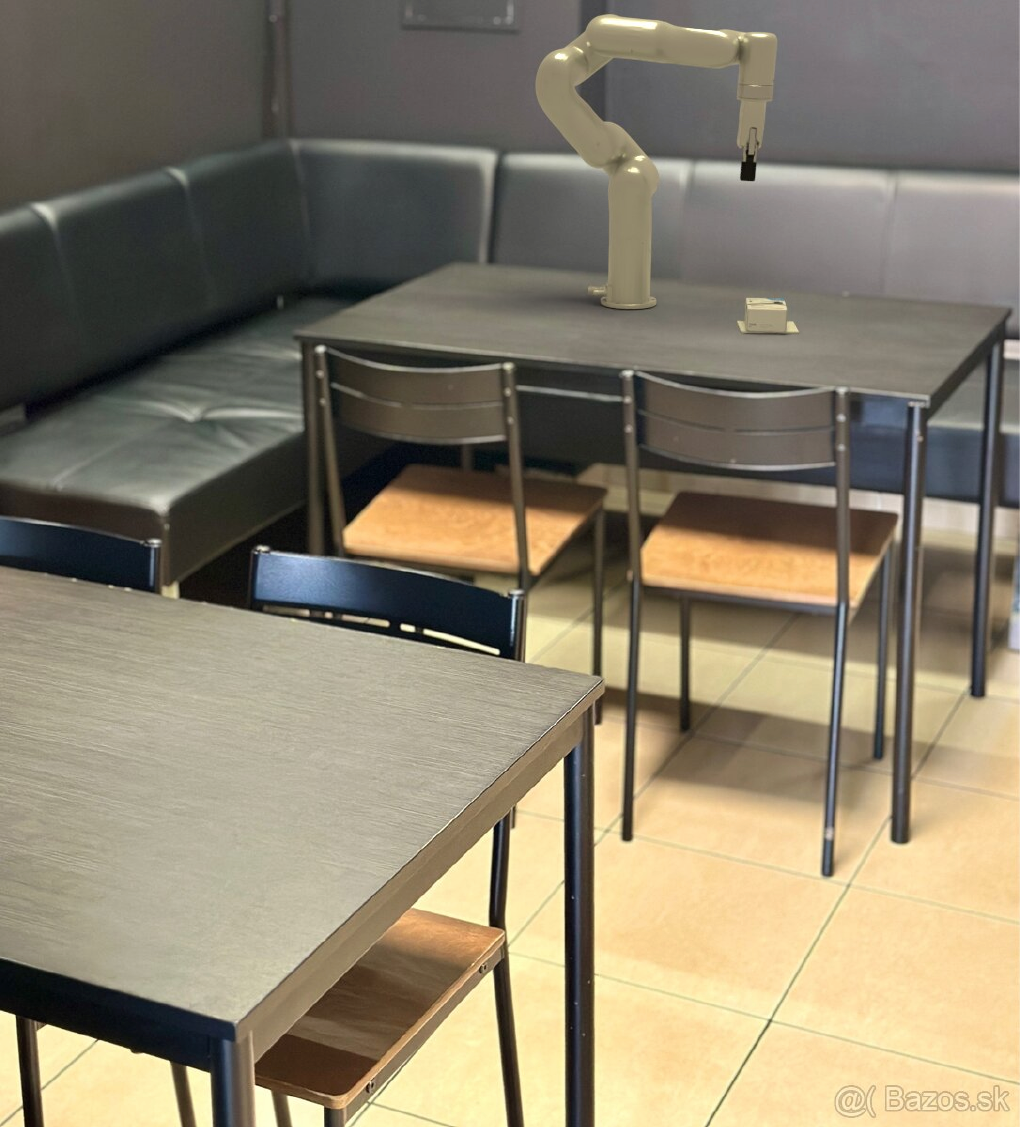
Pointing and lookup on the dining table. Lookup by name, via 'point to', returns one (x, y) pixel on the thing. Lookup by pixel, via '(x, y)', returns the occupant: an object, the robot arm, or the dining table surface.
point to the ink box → (766, 314)
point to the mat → (790, 330)
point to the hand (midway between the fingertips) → (747, 180)
